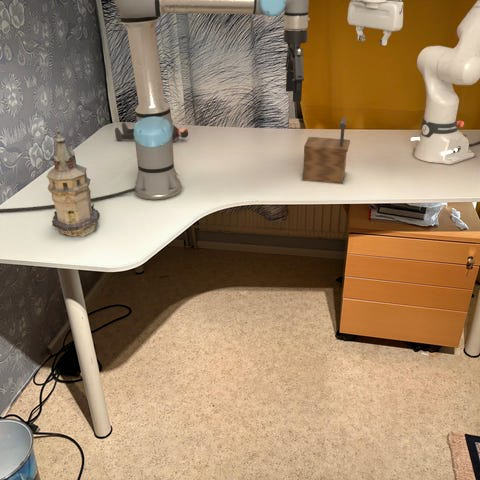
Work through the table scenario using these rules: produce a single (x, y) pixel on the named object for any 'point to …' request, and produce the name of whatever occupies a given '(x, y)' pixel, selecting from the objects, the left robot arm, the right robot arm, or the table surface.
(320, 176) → the chest
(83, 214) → the miniature building
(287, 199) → the table surface
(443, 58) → the right robot arm
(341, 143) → the lid
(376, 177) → the table surface
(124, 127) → the toy
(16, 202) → the table surface
